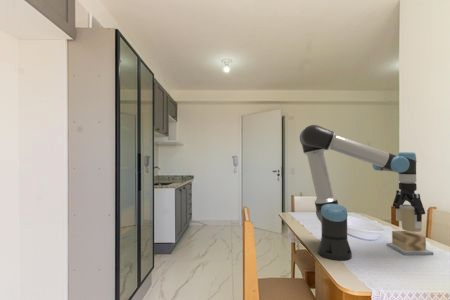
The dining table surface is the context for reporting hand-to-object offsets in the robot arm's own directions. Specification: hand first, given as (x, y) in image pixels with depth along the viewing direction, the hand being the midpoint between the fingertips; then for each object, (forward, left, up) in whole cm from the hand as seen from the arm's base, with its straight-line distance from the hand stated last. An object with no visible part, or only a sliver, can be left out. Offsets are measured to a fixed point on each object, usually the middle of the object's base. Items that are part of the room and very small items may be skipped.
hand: (407, 224), depth 135 cm
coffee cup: (0, -3, -2) cm, 3 cm away
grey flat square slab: (0, 0, -13) cm, 13 cm away
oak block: (0, 0, -12) cm, 12 cm away
